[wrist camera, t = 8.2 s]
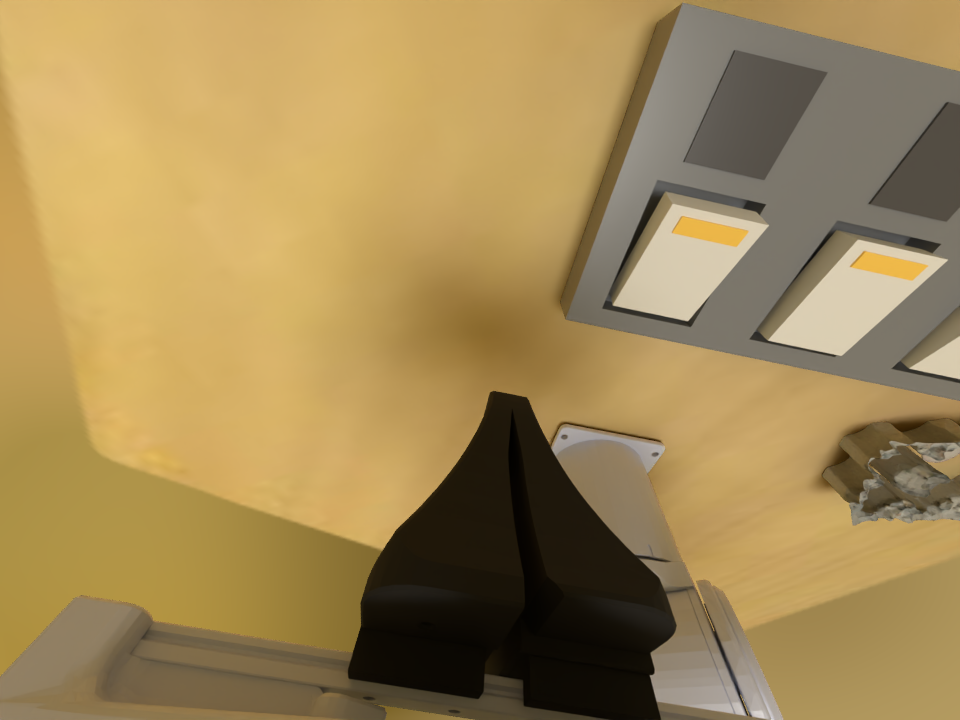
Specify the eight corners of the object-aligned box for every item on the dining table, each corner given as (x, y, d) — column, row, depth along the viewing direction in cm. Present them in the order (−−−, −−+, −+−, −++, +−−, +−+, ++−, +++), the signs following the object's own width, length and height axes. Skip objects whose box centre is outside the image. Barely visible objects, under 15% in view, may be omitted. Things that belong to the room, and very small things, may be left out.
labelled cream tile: (681, 306, 18) (688, 322, 17) (609, 291, 18) (612, 306, 17) (756, 211, 14) (770, 226, 13) (665, 191, 14) (673, 204, 13)
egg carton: (1036, 407, 22) (1135, 458, 18) (960, 482, 26) (1029, 534, 22) (851, 414, 23) (911, 462, 20) (806, 484, 27) (849, 534, 24)
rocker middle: (825, 342, 18) (843, 357, 17) (754, 327, 18) (768, 341, 17) (921, 249, 15) (950, 260, 14) (836, 230, 15) (859, 240, 14)
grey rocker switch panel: (938, 380, 21) (984, 406, 19) (560, 301, 20) (565, 320, 18) (1208, 157, 14) (1323, 160, 12) (657, 21, 13) (683, 1, 11)
